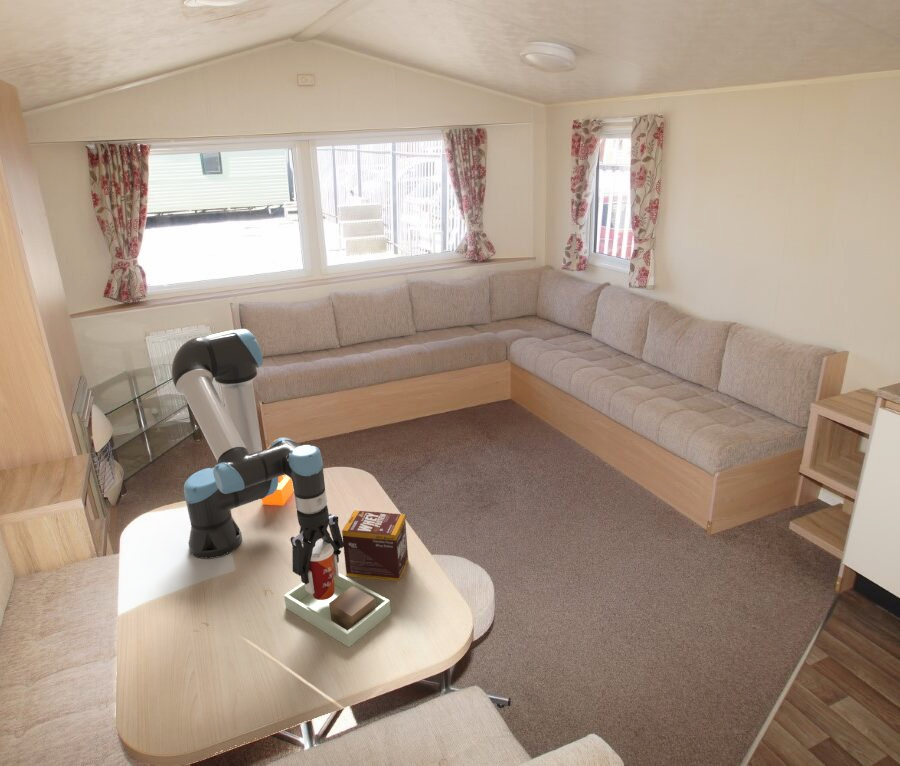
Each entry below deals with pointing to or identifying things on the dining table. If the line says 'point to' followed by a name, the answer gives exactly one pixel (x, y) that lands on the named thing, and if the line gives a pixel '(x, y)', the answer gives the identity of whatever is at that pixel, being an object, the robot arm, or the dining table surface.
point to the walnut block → (351, 607)
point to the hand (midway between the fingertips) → (322, 582)
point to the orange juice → (280, 491)
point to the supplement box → (375, 545)
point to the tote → (320, 610)
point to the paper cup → (322, 570)
